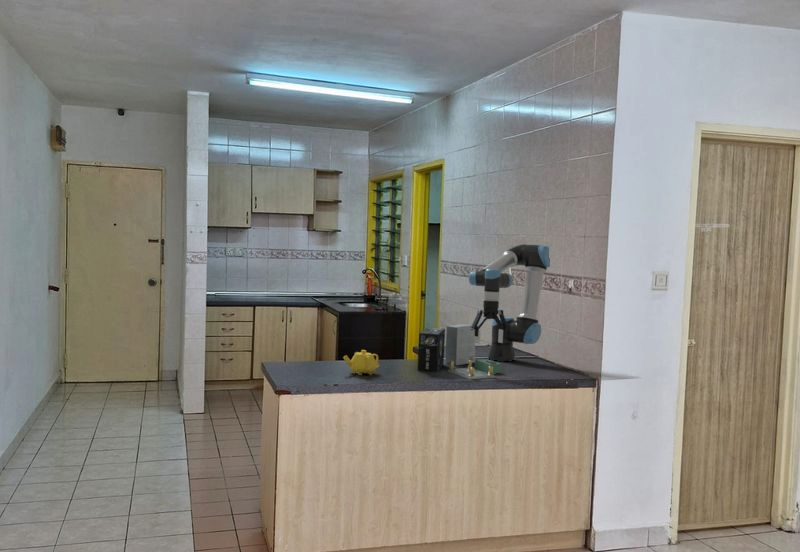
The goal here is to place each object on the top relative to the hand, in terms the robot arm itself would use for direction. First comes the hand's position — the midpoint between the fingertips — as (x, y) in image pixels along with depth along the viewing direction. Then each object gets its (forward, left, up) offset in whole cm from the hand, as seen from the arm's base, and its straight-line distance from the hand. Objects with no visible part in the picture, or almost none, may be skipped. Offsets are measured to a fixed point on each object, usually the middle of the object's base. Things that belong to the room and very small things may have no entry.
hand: (488, 342), depth 362 cm
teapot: (+65, -10, -14) cm, 67 cm away
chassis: (+14, +6, -14) cm, 20 cm away
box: (+24, -15, -14) cm, 32 cm away
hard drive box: (+2, -23, -14) cm, 27 cm away
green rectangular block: (0, 0, -14) cm, 14 cm away
